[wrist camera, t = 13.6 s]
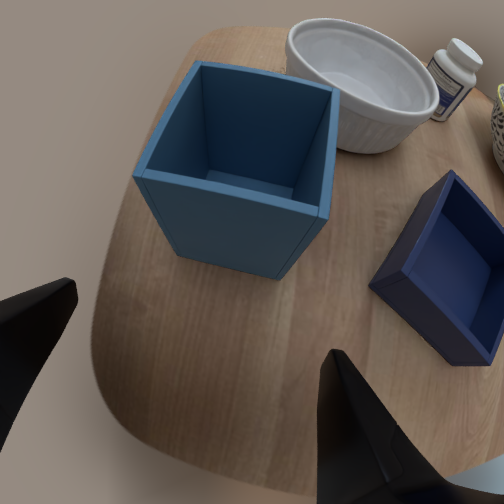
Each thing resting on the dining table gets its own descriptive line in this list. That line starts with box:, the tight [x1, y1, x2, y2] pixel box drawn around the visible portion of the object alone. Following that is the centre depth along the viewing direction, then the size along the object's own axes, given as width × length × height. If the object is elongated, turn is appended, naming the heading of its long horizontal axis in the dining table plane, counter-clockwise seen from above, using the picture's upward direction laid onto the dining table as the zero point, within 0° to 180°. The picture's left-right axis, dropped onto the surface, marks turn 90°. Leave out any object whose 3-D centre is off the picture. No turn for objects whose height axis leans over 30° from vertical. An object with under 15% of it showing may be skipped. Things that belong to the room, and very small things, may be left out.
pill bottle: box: [426, 38, 483, 121], centre depth 22 cm, size 5×5×10 cm
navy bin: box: [368, 169, 504, 366], centre depth 18 cm, size 10×10×4 cm
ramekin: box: [285, 18, 439, 154], centre depth 21 cm, size 13×13×7 cm
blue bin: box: [132, 61, 340, 280], centre depth 15 cm, size 7×7×10 cm
